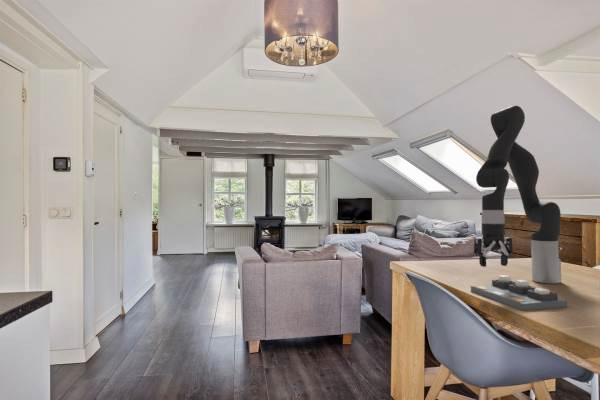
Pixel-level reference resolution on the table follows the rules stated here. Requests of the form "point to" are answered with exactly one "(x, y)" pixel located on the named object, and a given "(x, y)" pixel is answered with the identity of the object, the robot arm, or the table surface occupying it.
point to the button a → (504, 278)
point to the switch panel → (519, 296)
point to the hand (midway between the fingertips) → (493, 266)
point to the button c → (542, 291)
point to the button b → (522, 283)
